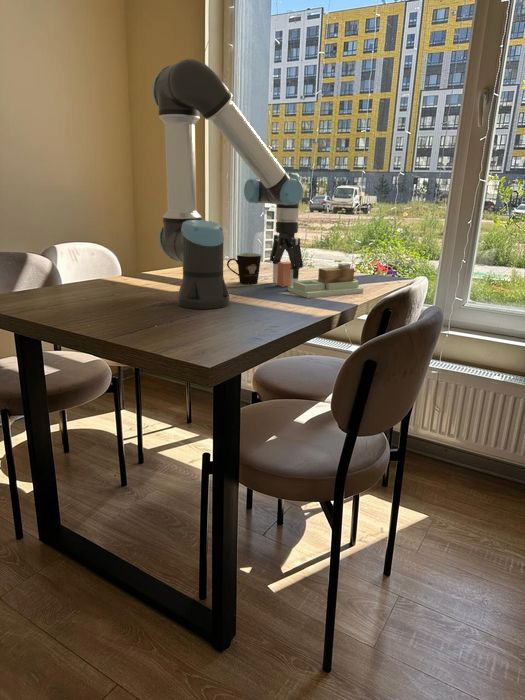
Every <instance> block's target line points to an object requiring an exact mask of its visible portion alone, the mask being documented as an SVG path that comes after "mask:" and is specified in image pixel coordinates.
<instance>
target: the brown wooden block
mask: <svg viewBox="0 0 525 700" xmlns="http://www.w3.org/2000/svg"><path fill="white" fill-rule="evenodd" d="M337 266H338V267H323V268H322V267H321V268H318V276H317V277H318V278H317V279H318V281H319V282H322V283H325V289H326V283H337V282H349V281H353V279H355V278H354V277H355V269H354V268H353V267H351V263H347V262H344V263H343V262H342V263H340V262H339V263H338V265H337Z"/></svg>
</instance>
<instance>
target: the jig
mask: <svg viewBox="0 0 525 700" xmlns="http://www.w3.org/2000/svg"><path fill="white" fill-rule="evenodd" d="M287 290H288V292H290V293H293V294H296V295H299V296H300V297H304V298H307V299H309V298H320V297H331V296H342V295H351V294H361V293H362V294H363V293H364V287H360V281H359V279H355V278H354V279H353V281H349V282H337V283H326V289H325V283H322V282H319V281H318V278H315V279H313V280H311V279H310V280H308V279H307V280H298V281H295V282H293V286H287Z"/></svg>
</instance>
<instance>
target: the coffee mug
mask: <svg viewBox="0 0 525 700" xmlns="http://www.w3.org/2000/svg"><path fill="white" fill-rule="evenodd" d="M236 258H237V259H236ZM236 258H230V259H228V260H227V264H226V267H227V268H228V269H229V270H230V271H231V272H232V273H234V274H235V275H236V276H238V278H239V284H242V285H257V284H258V282H259V276H260V275H259V274H260V267H261V259H262V254H261V253H257V252H256V253H255V252H253V253H252V252H240V253H237V254H236ZM231 261H235V263H236V265H237V269H238V272H236V271H235V270H233V269H232V268H231V267H230V266H229V265H230V264H229V263H230V262H231Z"/></svg>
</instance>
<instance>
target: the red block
mask: <svg viewBox="0 0 525 700" xmlns="http://www.w3.org/2000/svg"><path fill="white" fill-rule="evenodd" d="M291 267H292V266H291V262H290V261H281V262H278V276H277V282H276V284H277V286H279V285H280V286H279V287H282V288H284V287H285V286H287V287H288V286H290V270H291V269H290V268H291Z"/></svg>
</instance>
